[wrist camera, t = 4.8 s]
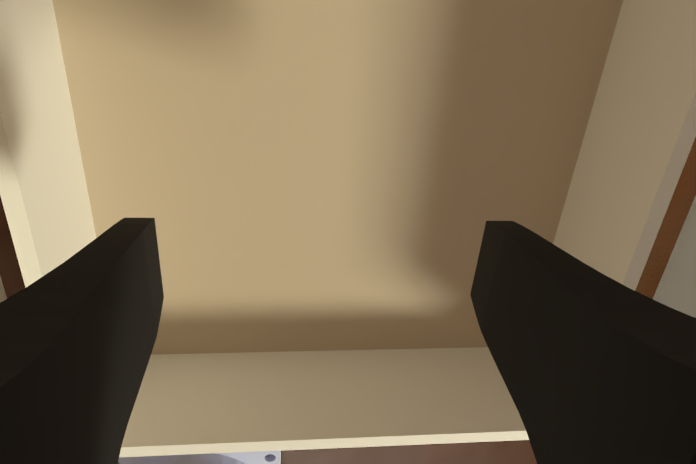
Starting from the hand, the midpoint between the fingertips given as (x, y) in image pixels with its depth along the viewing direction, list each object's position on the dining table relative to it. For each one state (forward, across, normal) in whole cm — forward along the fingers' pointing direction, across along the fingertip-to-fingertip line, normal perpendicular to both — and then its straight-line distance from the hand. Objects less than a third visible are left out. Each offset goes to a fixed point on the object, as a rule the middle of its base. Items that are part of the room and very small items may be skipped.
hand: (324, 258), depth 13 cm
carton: (+8, -1, 0) cm, 8 cm away
